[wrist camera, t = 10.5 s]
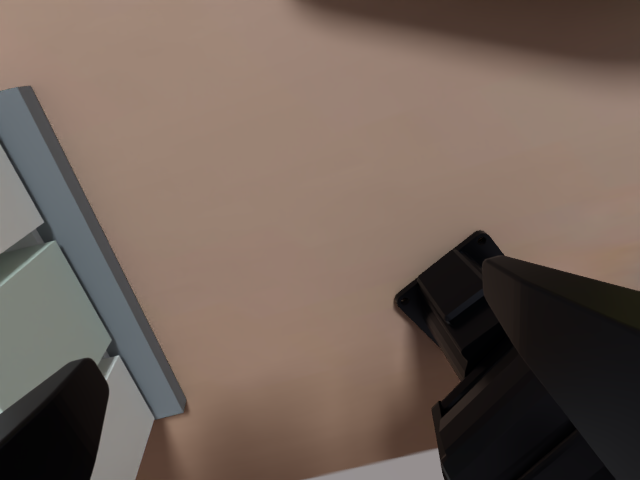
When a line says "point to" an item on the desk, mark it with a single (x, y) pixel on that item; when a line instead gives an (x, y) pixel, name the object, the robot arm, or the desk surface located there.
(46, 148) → the rail board
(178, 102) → the desk surface
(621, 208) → the desk surface
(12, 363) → the block
